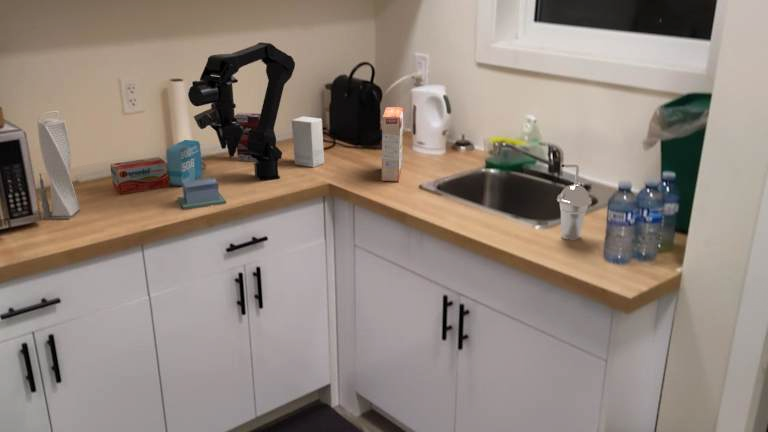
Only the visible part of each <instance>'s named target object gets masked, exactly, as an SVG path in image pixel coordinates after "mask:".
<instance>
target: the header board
mask: <svg viewBox="0 0 768 432" xmlns="http://www.w3.org/2000/svg"><path fill="white" fill-rule="evenodd" d="M176 199H177V201H178V203H179V205H180V207H181V208H182V209H183V211H185V210H192V209H199V208H204V207H212V206H211V205H213V206H219V205H226V204H227V200H226V199H225V197H224V196H223V194H221V192H219V200H213V201H207V202H200V203H193V204H187V200H186V199H184V196H178V197H176Z"/></svg>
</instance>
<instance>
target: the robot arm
mask: <svg viewBox="0 0 768 432" xmlns="http://www.w3.org/2000/svg"><path fill="white" fill-rule="evenodd" d="M260 60H261V62H262V63H263V64H264V65H265V66H266V68H265V73H266V77H267V80H268V82H267V86H266V90H265V93H264V98H263V103H262V105H261V111H260V114H261V115H260V119H259V123H258V126H257V127H256V128H255V129H254V130H250V131H249V136H248V139H247V141H246V142H248V143H247V148H248V150H249V152H250V154H251V157H252V158H256V162H254V164H253V165H254V167H253V168H254V176H255V177H256V178H257V179H258V180H259V181H261V182H262V181H268V180H278V179H281V176H280V175H279V168H278V167H279V166H278V165H279V162H278V161H279V160H281V159H282V156H283V152H282V150H281V149H280V148H279V147H277V137H276V133H275V125H276V121H277V117H278V112H279V108H280V106H281V105H280V104H281V100H282V96H283V92H284V87H285V85H286V84H287V82H289V80H290V79H291V78H292V76H293V73H294V71H295V67H296V62H295V61H294V58H293V57H292V56H291V55H288V54H287V53H286V52H285V51H283V50H281V49H279V48H277V47H276V46H275V45H274V44H272V43H270V42H264V41H263V42H257V44H254V45H252V46H249V47H246V48H242V49H240V50H237V51H235V52H232V53H219V54H211V55H210V56H208V57H207V61H206V63H205V66H204V68H203V71H202V73H201V76H200V77H199V80H194V81H192V83H191V84H192V86H190V87H189V90H188V93H187V97H188V100H189V102H190V104H192V105H193V106H194V107H200V106H207V105H210V108H209V109H206V110H204V111H201V112H200V113H198V114H195V115H194V116H193V119H194V121H195V122H196V125H197V127H198V128H199V129H200V130H204V129H206V128H207V127H209V126H210V127H211V128H212V129H213V130H214V131H215V132H216V135H217V138H218V142H219V144H220V147H221V150H225V149H226V148H227V152H228V155H229V157H230V158H231V157H234V156H235V154H236V152H237V146H238V144H239V141H240V139H241V137H242V136H243V134H244V128H243V127H242V126H241V125H240V124H239V123H237V118H236V117H235V115H236V113H235V109H236V107H237V106H236V105H237V104H235V103H234V90H233V84H236V83H238V82H239V81H238V79H237V78H236V77H235V76H233V75H236V74H237V73H238V72H239V70H240V69H241V68H243V67H245V66H248V65H251V64H253V63H255V62H258V61H260ZM235 122H236V123H235Z"/></svg>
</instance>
